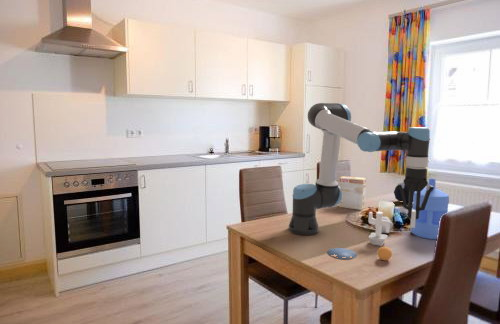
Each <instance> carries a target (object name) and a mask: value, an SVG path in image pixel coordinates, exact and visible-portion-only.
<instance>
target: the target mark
mask: <svg viewBox="0 0 500 324" xmlns="http://www.w3.org/2000/svg"><path fill="white" fill-rule="evenodd" d="M328 254H329V255H328ZM334 254H335V255H337V256H336V257H338V258H339V260H349V259H348V258H350V256H352V258H353V259H355V258H356V257H357V253H356V252H355V251H354V250H352V249H350V248H343V247H334V248H333V247H332V248H329V249H328V250H327V255H328V256H330V255H334ZM342 257H346V258H342ZM354 257H355V258H354Z"/></svg>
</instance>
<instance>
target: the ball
mask: <svg viewBox="0 0 500 324" xmlns="http://www.w3.org/2000/svg"><path fill="white" fill-rule="evenodd" d="M392 253H393V252H392V250H391V249H390V248H389V247H387V246H380V247H379V248H378V250H377V253H376V254H377V256H378V258H379V259H380V260H382V261H389V260H390V259H391V258H392V256H393V254H392Z"/></svg>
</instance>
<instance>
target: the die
mask: <svg viewBox="0 0 500 324" xmlns="http://www.w3.org/2000/svg"><path fill="white" fill-rule="evenodd" d="M382 220H387V221H389V222H390V231H389V232H388V233H387V232H386V227H385V226H382V229H381V234H390V233H391V230H392V228H393V226H394V223H393V222H392V220H391V219H390V218H389V217H388V216H383V217H382ZM373 226H374V228H375V229H376V225H374V224H373Z"/></svg>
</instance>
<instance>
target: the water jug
mask: <svg viewBox="0 0 500 324" xmlns="http://www.w3.org/2000/svg"><path fill="white" fill-rule="evenodd" d="M436 181H437V179H435V178H428V181H427V182H428V184H429V185H431V186H433V187H434V189H433V190H432V191H431V193H430V195H429V198H428V201H427V204H426V207H425V209H424V210H421V211H419V218H418V219H415V228H412V227H411V226H410V231H411V233H412V234H413V235H414V236H416V237H419V238H422V239H428V240H438V239H437V235H438V228H439V221H440V218H441V216H442V215H443V214H445V213H447V212H448V210H449V204H450V196H449V194H448V193H446V192H444V191H442V190H441V189H438V188H437V187H436V183H437V182H436ZM426 191H427V189H426V187H425V188H424V189H423V190H422V191H421V194H420V206H421V205H422V202H423V199H424V196H425V193H426ZM412 210H416V191H415V192H414V196H413V202H412ZM447 214H448V213H447Z"/></svg>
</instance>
